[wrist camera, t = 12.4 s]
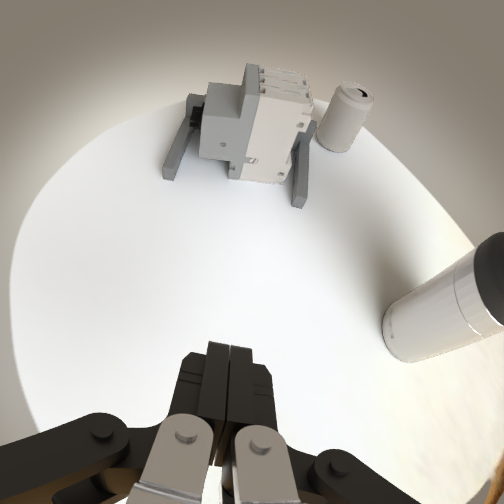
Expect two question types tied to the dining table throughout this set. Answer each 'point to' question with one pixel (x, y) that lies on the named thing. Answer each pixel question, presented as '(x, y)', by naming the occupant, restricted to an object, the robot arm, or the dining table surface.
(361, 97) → the beverage can
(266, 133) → the circuit breaker
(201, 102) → the breaker bay
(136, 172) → the dining table surface
